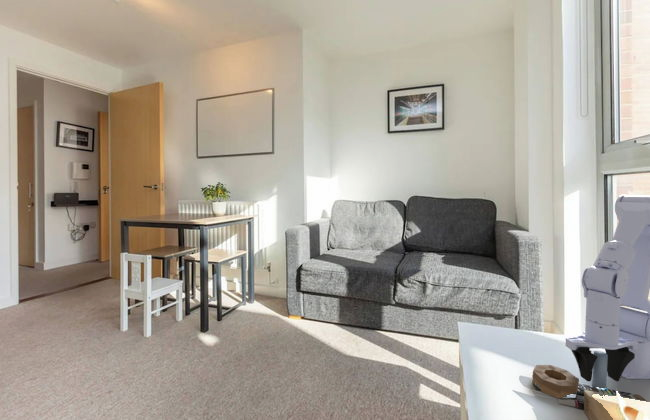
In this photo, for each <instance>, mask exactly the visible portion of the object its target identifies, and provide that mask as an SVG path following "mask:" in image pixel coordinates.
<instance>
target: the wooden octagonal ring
mask: <svg viewBox="0 0 650 420" xmlns="http://www.w3.org/2000/svg"><path fill="white" fill-rule="evenodd" d="M579 381H580V380H579V378H578V376H577V377H576V375H574V374H573V373H571V372H570V371H569V370H567V369H564V368H561V367H558V366H554V365H552V364H536V365H535V366H534V368H533V370H532V384H533V385H534V383H536V384H537V385H538V386H539V387H540V389H541V391H542V392H541V391H540V392H541V393H543V394H546V395H549V396H550V397H554V398H557V399H559V398H563V397H565V396H567V395H570V394H573V393H576V392H577V389H578V390H579V387H578V386H579V385H580V384H579Z"/></svg>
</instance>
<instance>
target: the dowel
mask: <svg viewBox="0 0 650 420" xmlns="http://www.w3.org/2000/svg"><path fill="white" fill-rule="evenodd" d="M593 354H594V355H596V356H597V357H598V358H597V359H596V361H595V363H594V366H593V371H592V379H591V381H592V382H591V383H592V384H591V385H592V387H593V388H594V387H599V388H606V389H607V381H608V380H607V379H608V378H607V377H608V373H607V361H608V355H607V354H606V352H605V351H601V350H593Z"/></svg>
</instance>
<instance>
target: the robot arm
mask: <svg viewBox="0 0 650 420" xmlns="http://www.w3.org/2000/svg"><path fill="white" fill-rule="evenodd" d="M614 212H615V216H616V218H617V220H618V222H617V225H616V228H615V232H614V234H613V237H612V240H611V241H610V240H609V241H607V242H604V243H603V245H602V247H601V249H600V251H599V253H598V255H597V257H596V259H595V261H594V263H593V265H591V266H589V267H586V268H585V269H584V270H583V273H582V277H581V286H582V289H583V296H584V298H585V299H586V303H585V304H586V305H585V324H584V326H585V327H584V328H585V329H584V331H582V332H583V333H582V334H580V335H577V336H576V335H575V336H572V337H565V347H567V348H568V349H570V351H571V352H572V354H573V356H574V359H575V360H576V364H577V367H578V370H579V371H578V372H579V374H580V378H582V379H584V380H585V381H586V382H591V381H592V378H593V366H594V363H595V361H596V359H597V358H598V357H597V356H596V355H594V353H592V350H591V349H602V350H605V351H604V352H605V353H606V354H607V355H608V361H607V377H609V378H611V379H612V380H613V381H615V382H620V380H621V377H623V378H624V379H627V380H650V299H649V294H650V195H647V194H643V195H639V194H638V195H633V194H632V195H631V194H628V195H627V194H620V195H619V196H618V197H617V198H616V201H615V203H614ZM631 308H632V309H631Z"/></svg>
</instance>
